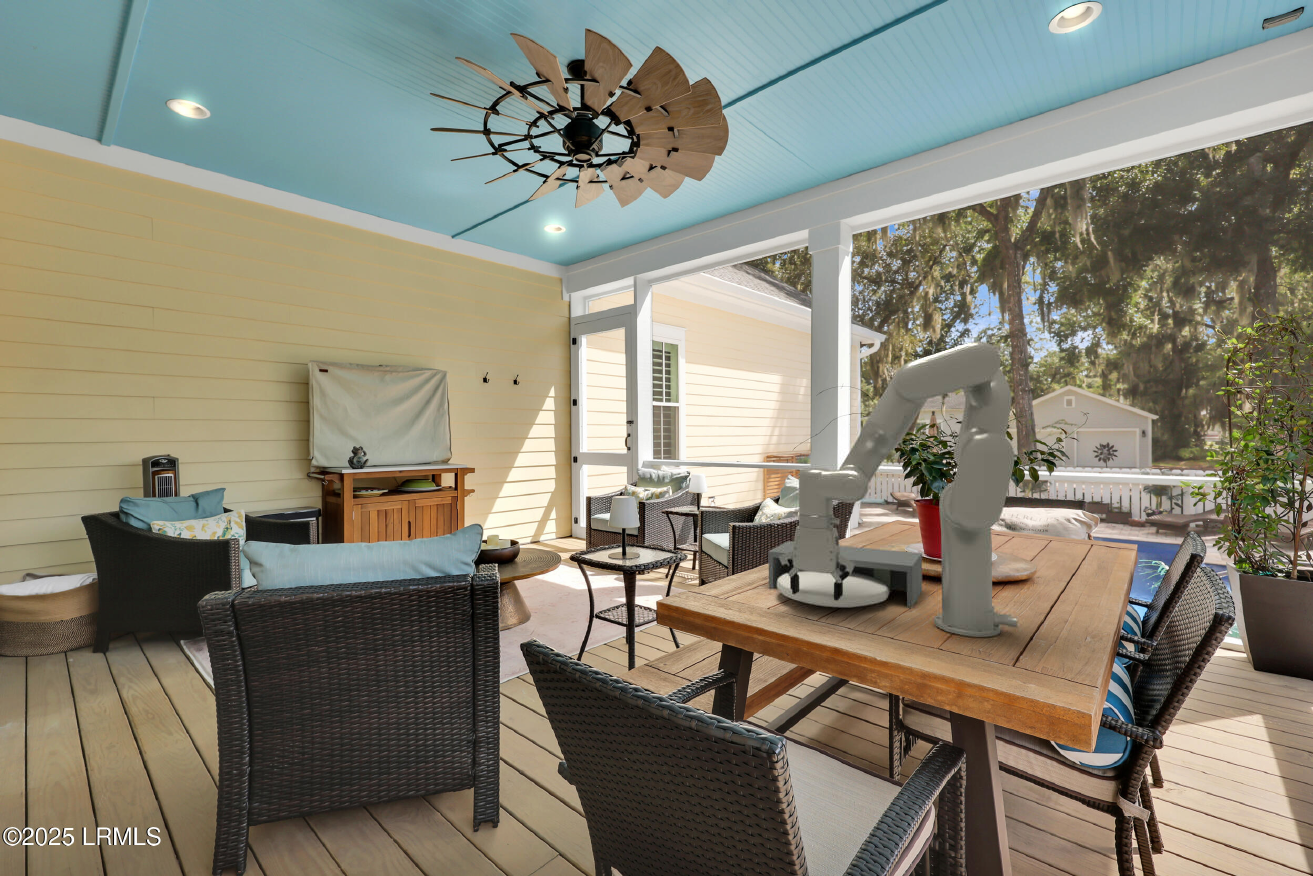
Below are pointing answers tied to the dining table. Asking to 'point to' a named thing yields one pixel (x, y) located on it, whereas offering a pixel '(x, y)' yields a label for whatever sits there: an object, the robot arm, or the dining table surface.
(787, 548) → the shelf
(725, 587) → the dining table surface
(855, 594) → the plate
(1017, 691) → the dining table surface
